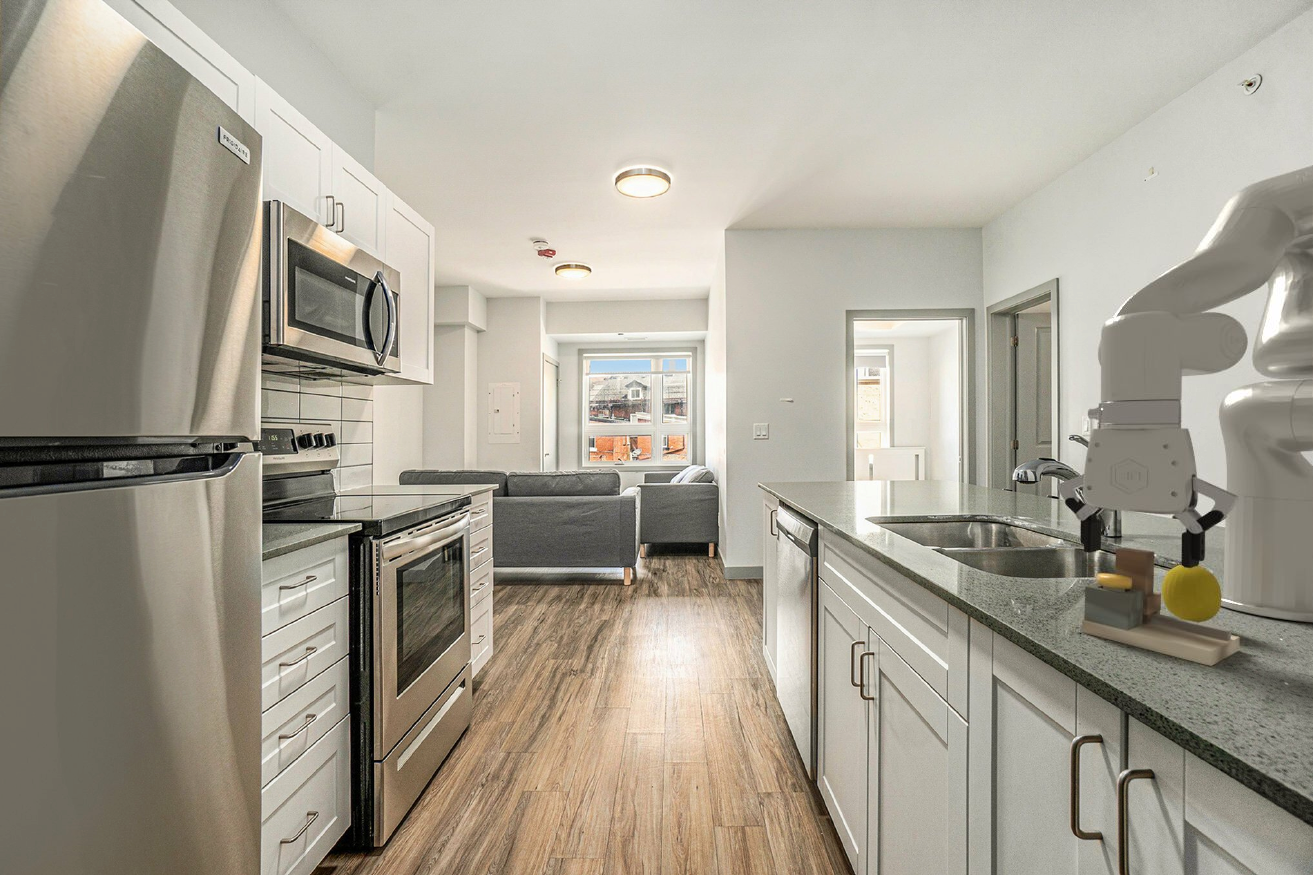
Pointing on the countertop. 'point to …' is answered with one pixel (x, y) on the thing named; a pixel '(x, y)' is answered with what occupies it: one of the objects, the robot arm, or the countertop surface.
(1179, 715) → the countertop surface
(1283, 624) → the countertop surface
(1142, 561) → the block
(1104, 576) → the button
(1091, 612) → the rail base
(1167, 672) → the countertop surface
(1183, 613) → the lemon
